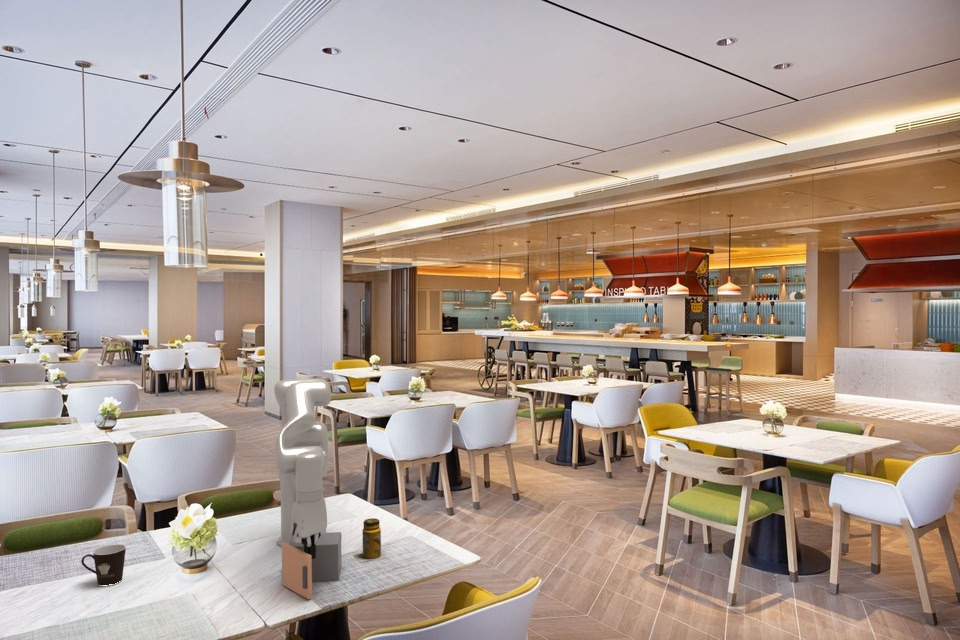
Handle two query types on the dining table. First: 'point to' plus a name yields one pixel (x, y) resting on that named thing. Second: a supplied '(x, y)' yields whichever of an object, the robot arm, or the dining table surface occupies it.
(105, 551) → the coffee mug
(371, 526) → the condiment
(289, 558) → the door
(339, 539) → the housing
